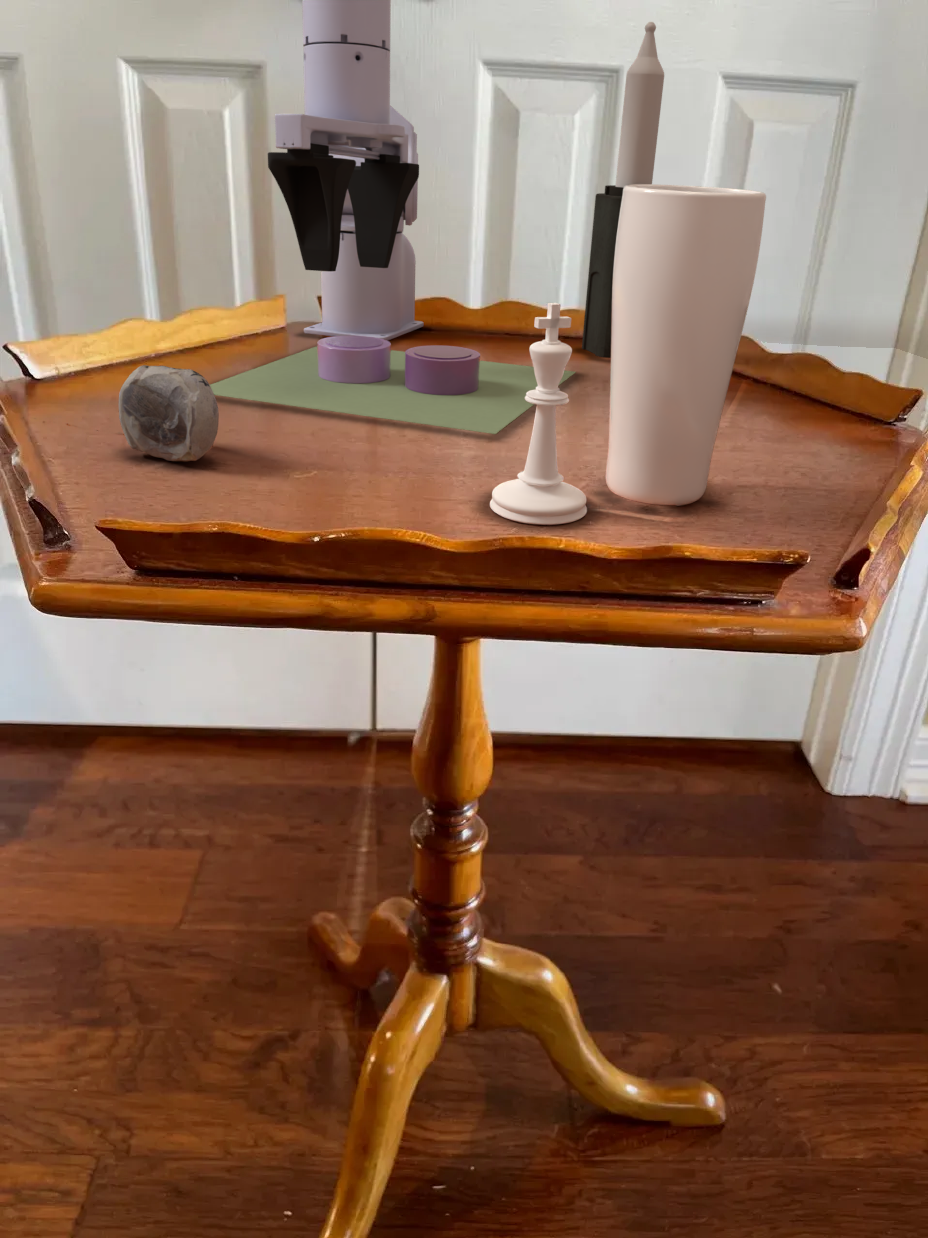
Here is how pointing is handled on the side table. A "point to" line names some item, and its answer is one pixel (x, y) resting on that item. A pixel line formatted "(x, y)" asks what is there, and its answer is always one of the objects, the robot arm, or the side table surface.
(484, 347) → the side table surface
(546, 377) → the chess piece
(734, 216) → the drinking glass
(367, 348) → the lilac dish
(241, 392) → the placemat
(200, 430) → the fossil
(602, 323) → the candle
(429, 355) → the mauve dish
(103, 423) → the side table surface
